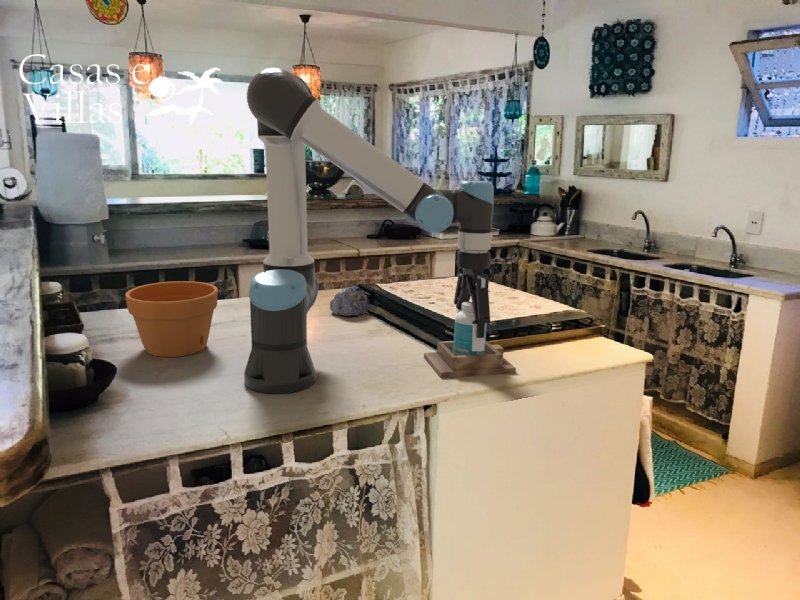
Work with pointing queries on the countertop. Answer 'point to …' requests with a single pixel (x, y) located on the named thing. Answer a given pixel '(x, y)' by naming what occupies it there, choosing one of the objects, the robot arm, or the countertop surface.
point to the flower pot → (173, 316)
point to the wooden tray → (468, 361)
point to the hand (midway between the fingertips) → (469, 342)
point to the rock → (350, 302)
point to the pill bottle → (465, 331)
